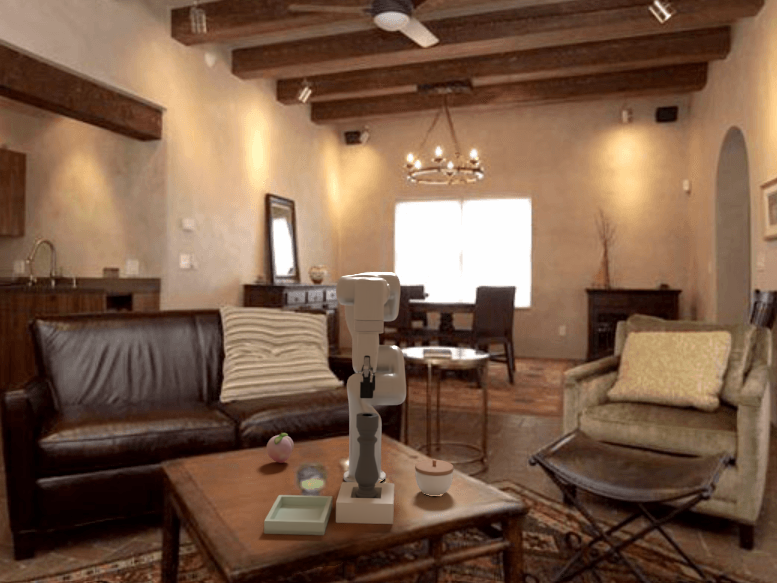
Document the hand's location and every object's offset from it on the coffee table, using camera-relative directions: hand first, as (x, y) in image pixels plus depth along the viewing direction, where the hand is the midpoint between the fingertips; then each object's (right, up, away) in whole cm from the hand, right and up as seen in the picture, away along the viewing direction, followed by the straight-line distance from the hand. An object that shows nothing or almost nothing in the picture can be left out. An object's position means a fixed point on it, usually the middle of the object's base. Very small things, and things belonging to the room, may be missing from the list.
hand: (367, 394), depth 150 cm
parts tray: (-17, -30, -4) cm, 35 cm away
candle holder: (0, -31, +1) cm, 31 cm away
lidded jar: (+18, -30, +15) cm, 38 cm away
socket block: (0, -30, +1) cm, 30 cm away
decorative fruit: (-29, -29, +38) cm, 56 cm away
